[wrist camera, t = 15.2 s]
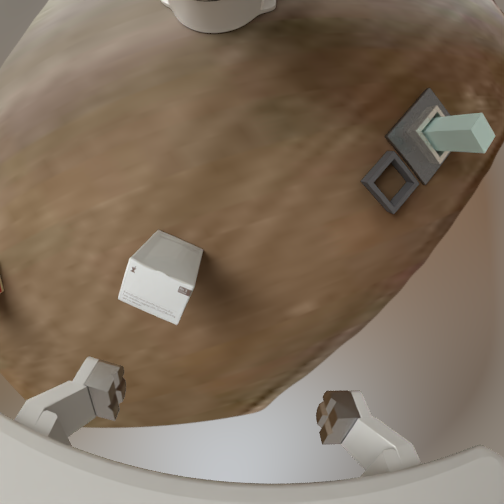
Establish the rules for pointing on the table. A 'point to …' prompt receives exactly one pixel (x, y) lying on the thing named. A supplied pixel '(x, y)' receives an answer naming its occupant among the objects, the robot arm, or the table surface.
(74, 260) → the table surface
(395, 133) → the port panel
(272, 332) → the table surface
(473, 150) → the plug
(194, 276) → the skincare box
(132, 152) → the table surface
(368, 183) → the holster
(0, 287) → the milk carton
